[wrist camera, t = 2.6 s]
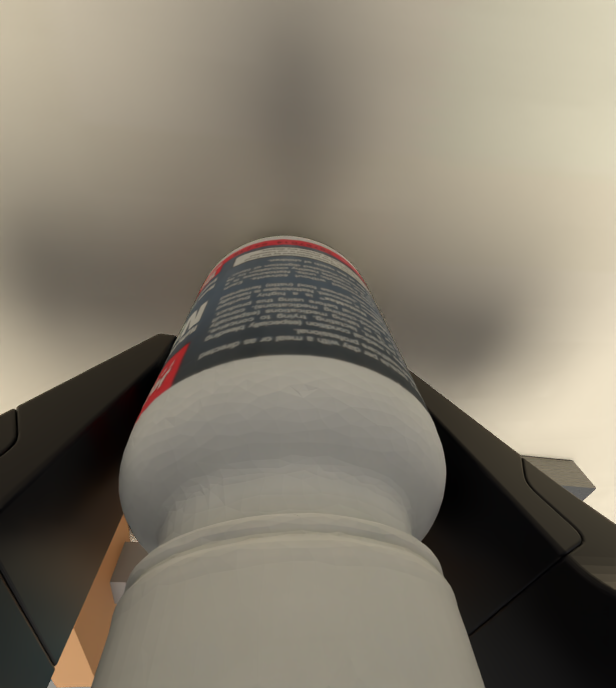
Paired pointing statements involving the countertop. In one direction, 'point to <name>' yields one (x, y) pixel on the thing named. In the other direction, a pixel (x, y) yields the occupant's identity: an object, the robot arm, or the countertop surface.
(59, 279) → the countertop surface
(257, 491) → the pill bottle
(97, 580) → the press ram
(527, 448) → the countertop surface
